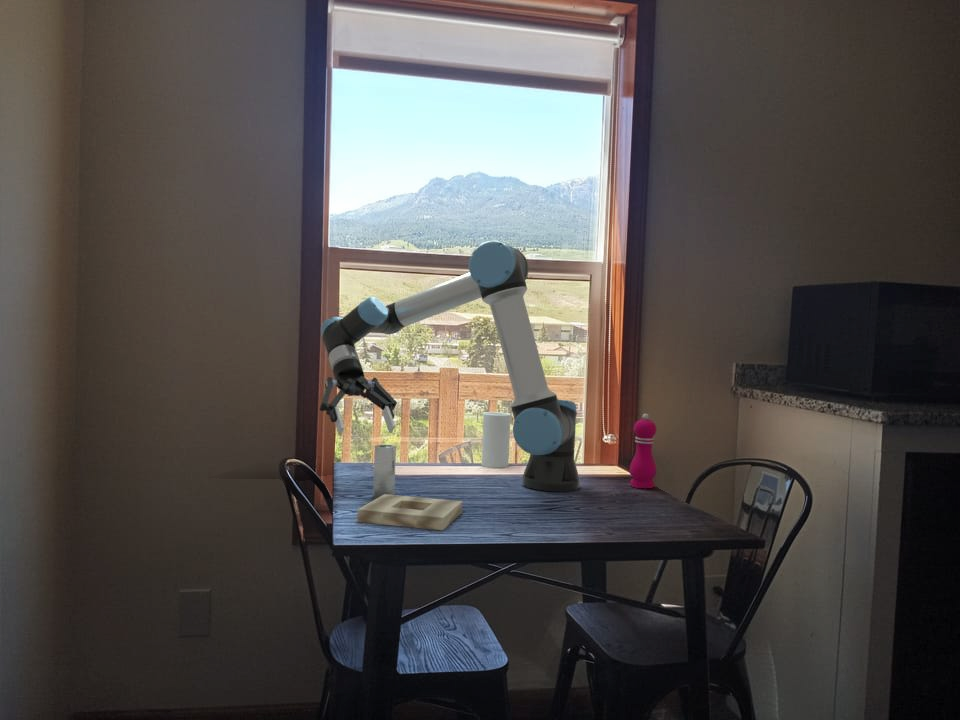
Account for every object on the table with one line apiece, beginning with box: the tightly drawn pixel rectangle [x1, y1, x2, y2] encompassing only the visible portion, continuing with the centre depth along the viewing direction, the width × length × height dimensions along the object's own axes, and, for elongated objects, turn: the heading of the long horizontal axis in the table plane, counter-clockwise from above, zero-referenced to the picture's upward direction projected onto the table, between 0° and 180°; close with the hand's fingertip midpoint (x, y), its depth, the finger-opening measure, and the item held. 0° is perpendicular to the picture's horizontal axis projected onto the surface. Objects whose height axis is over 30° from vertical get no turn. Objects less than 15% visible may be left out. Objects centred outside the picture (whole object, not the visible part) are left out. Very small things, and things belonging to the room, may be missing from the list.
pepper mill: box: [629, 413, 658, 490], centre depth 198 cm, size 7×7×20 cm
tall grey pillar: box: [372, 444, 397, 499], centre depth 172 cm, size 5×5×12 cm
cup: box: [481, 411, 512, 469], centre depth 222 cm, size 8×8×16 cm
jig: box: [356, 494, 463, 531], centre depth 154 cm, size 18×16×2 cm
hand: (367, 430), depth 180 cm, fingers open, 13 cm apart
